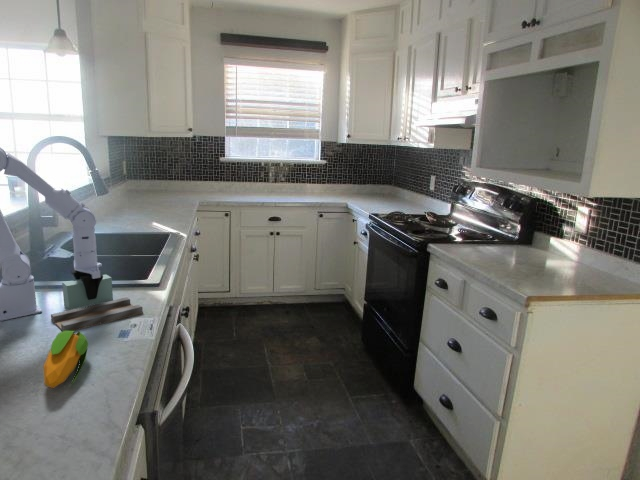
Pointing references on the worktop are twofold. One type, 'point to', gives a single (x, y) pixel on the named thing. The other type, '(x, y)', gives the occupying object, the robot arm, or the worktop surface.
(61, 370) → the corn
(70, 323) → the track
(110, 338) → the worktop surface
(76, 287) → the green block
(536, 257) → the worktop surface
